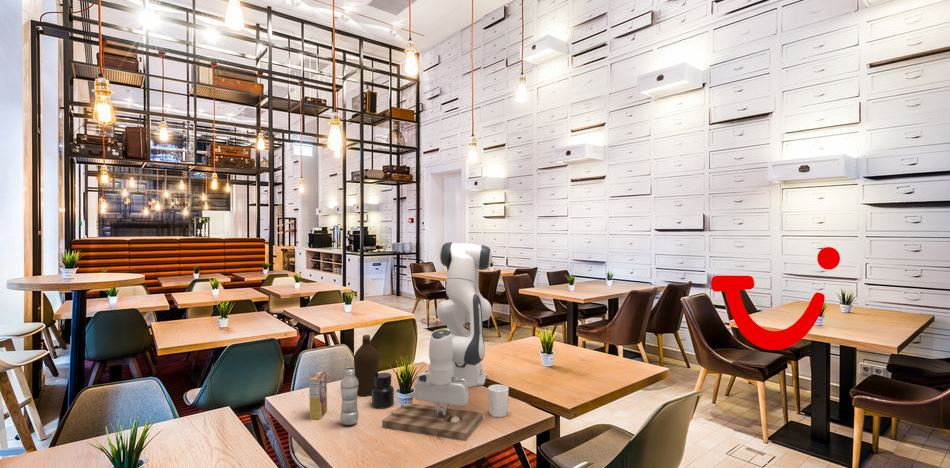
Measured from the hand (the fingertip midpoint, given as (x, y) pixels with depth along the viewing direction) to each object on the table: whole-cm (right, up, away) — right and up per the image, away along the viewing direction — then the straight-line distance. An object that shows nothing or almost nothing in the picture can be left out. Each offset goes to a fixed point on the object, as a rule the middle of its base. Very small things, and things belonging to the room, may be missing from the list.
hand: (441, 414), depth 162 cm
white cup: (+21, -4, +10) cm, 24 cm away
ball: (+5, -2, -2) cm, 6 cm away
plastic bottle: (-34, -4, +1) cm, 34 cm away
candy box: (-48, -4, +9) cm, 49 cm away
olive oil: (-35, -4, +33) cm, 49 cm away
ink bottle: (-25, -4, +19) cm, 32 cm away
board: (-3, -4, +1) cm, 5 cm away
